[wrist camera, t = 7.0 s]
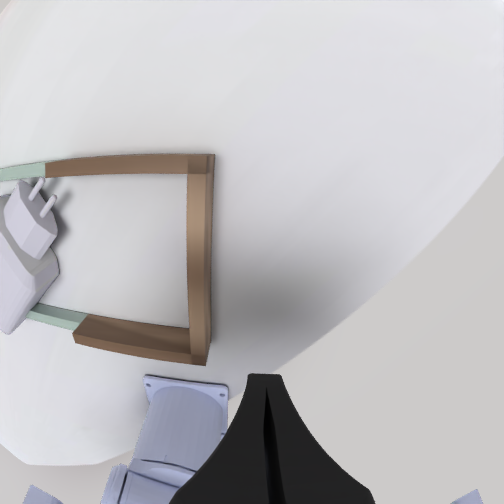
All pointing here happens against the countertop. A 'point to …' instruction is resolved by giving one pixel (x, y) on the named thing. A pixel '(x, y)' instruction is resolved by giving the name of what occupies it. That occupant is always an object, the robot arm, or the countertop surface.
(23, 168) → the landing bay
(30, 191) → the charger
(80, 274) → the countertop surface
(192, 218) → the brown wooden u-shaped frame
